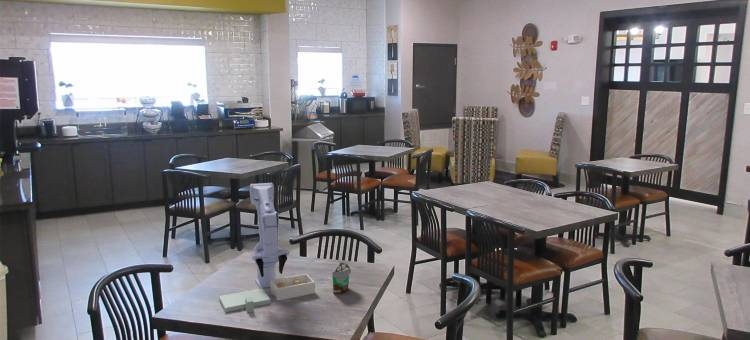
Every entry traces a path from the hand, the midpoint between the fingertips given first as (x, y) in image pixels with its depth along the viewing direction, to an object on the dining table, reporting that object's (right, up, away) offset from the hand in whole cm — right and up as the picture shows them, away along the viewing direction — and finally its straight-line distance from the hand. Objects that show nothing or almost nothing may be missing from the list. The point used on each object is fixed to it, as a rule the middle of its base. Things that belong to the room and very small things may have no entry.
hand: (271, 274), depth 215 cm
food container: (+29, -9, +10) cm, 31 cm away
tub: (+8, -9, +7) cm, 13 cm away
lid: (-9, -11, -4) cm, 15 cm away
